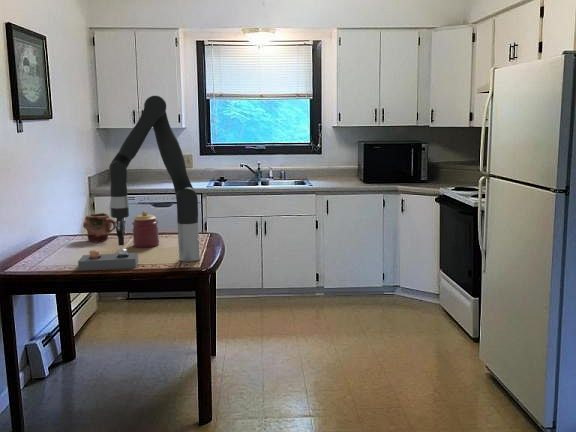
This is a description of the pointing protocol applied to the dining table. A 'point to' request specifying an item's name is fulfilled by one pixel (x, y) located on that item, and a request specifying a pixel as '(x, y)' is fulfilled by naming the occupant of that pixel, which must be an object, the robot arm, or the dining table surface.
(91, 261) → the button panel
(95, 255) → the terracotta button
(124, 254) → the steel button
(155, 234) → the canister
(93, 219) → the brown ceramic mug
